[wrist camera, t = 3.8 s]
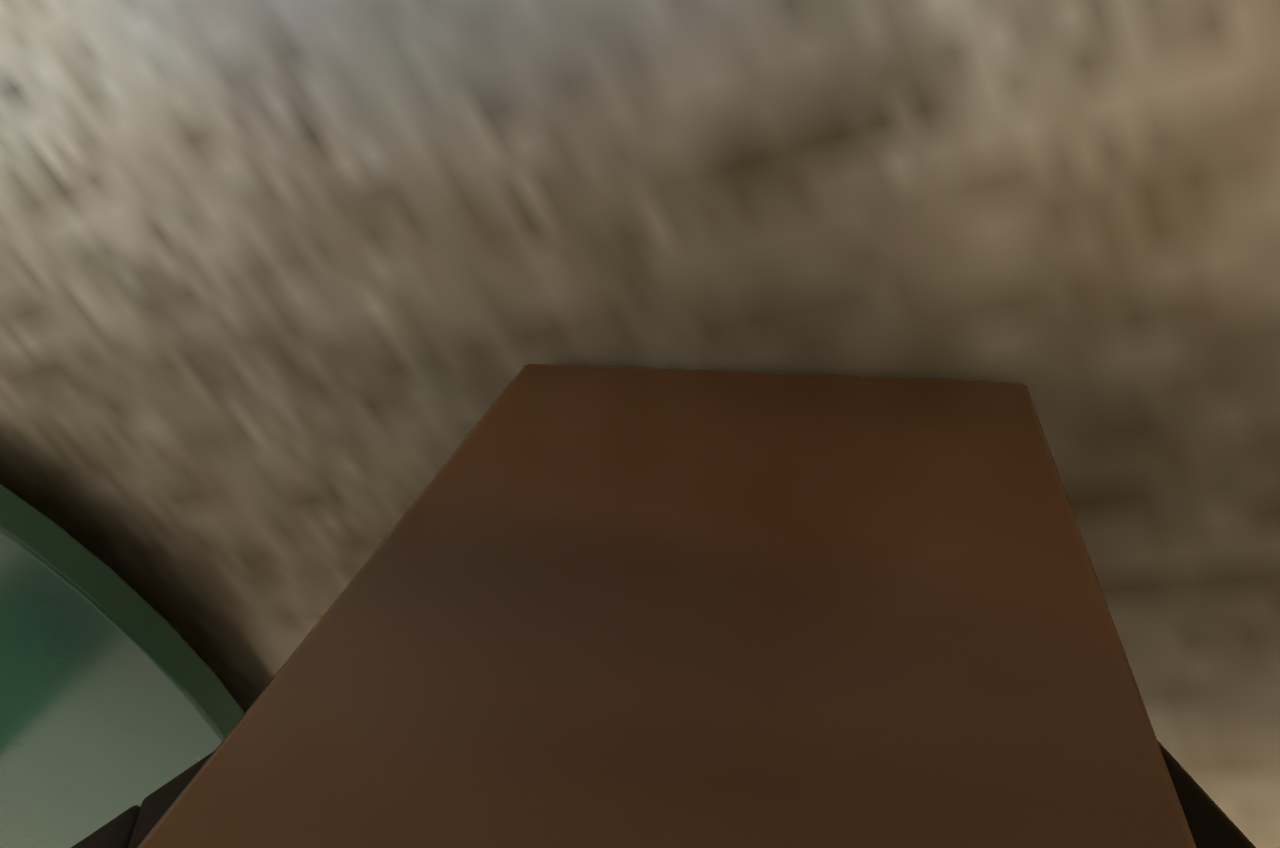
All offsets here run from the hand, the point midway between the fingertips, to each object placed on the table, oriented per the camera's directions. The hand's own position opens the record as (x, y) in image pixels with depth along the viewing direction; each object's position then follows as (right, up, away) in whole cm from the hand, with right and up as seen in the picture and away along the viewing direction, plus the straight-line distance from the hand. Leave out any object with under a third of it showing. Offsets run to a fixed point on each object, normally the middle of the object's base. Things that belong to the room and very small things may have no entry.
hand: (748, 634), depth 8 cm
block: (0, +1, +1) cm, 1 cm away
